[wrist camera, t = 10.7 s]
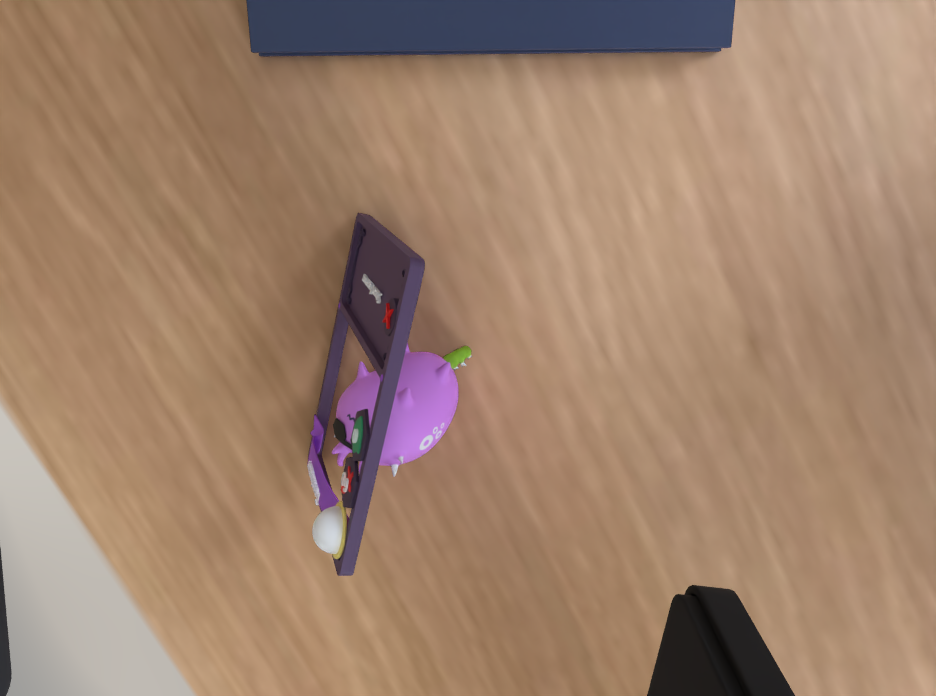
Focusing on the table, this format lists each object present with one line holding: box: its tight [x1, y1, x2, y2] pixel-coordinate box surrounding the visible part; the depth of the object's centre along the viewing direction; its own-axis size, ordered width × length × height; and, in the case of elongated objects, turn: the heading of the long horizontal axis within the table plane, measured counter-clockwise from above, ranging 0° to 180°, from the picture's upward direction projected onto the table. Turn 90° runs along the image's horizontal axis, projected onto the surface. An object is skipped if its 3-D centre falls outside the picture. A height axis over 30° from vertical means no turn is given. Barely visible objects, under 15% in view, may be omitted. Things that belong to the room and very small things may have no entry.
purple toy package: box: [307, 213, 472, 576], centre depth 21 cm, size 7×5×9 cm
